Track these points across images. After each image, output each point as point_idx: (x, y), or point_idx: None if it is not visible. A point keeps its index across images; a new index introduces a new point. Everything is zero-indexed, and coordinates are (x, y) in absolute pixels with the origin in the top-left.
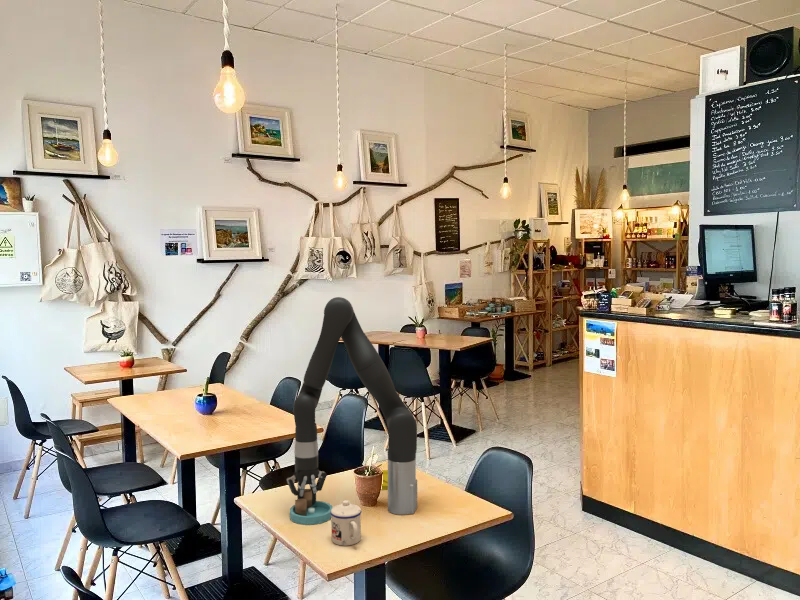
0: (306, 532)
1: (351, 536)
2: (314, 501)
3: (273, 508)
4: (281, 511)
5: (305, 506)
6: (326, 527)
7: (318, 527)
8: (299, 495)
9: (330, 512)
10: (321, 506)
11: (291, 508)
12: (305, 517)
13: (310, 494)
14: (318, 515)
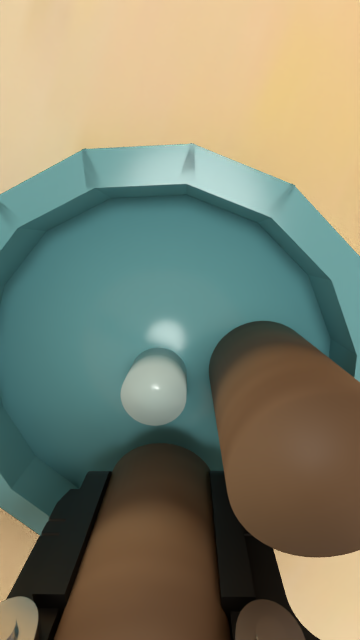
0: (353, 20)
1: None
2: (79, 494)
3: (348, 604)
4: None
5: (258, 370)
6: (124, 41)
7: (196, 86)
8: (298, 632)
9: None
10: (33, 459)
11: None
12: (308, 201)
13: (104, 594)
14: (148, 174)
